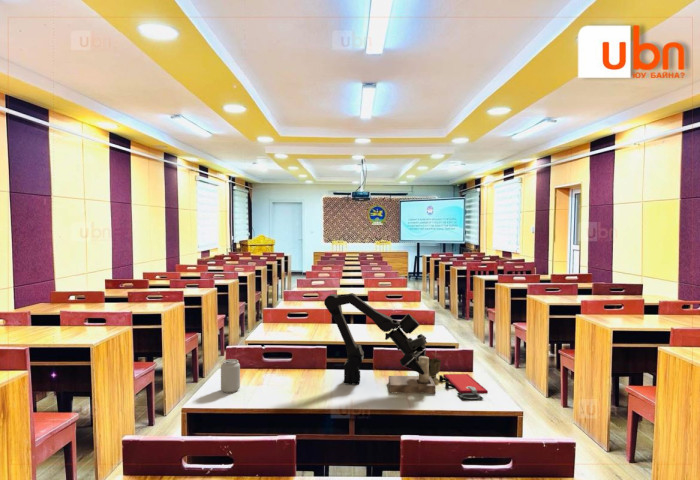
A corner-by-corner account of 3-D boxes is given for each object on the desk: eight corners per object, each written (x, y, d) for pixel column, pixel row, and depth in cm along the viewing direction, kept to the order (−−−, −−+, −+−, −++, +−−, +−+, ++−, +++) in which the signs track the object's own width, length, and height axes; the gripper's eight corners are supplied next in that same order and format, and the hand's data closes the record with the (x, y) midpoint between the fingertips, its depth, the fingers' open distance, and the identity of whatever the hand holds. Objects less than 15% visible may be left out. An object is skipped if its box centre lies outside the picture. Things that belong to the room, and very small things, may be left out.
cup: (439, 375, 201) (440, 357, 201) (441, 380, 193) (441, 362, 193) (423, 374, 201) (423, 357, 201) (424, 379, 194) (424, 361, 194)
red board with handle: (457, 401, 169) (495, 400, 171) (457, 393, 169) (495, 393, 171) (435, 377, 199) (467, 377, 201) (435, 371, 199) (467, 371, 201)
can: (217, 390, 179) (217, 360, 179) (233, 385, 185) (233, 357, 184) (227, 394, 174) (227, 364, 174) (243, 390, 179) (243, 360, 179)
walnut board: (390, 392, 178) (390, 385, 178) (388, 382, 190) (388, 375, 190) (435, 393, 177) (435, 385, 177) (430, 383, 189) (430, 376, 189)
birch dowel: (419, 390, 180) (419, 358, 180) (417, 387, 185) (418, 356, 184) (429, 390, 180) (429, 358, 180) (427, 387, 184) (428, 356, 184)
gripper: (407, 333, 176) (434, 364, 171) (421, 325, 192) (446, 353, 188) (389, 350, 179) (414, 382, 174) (404, 341, 196) (428, 369, 191)
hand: (427, 370), depth 182 cm, fingers open, 9 cm apart
